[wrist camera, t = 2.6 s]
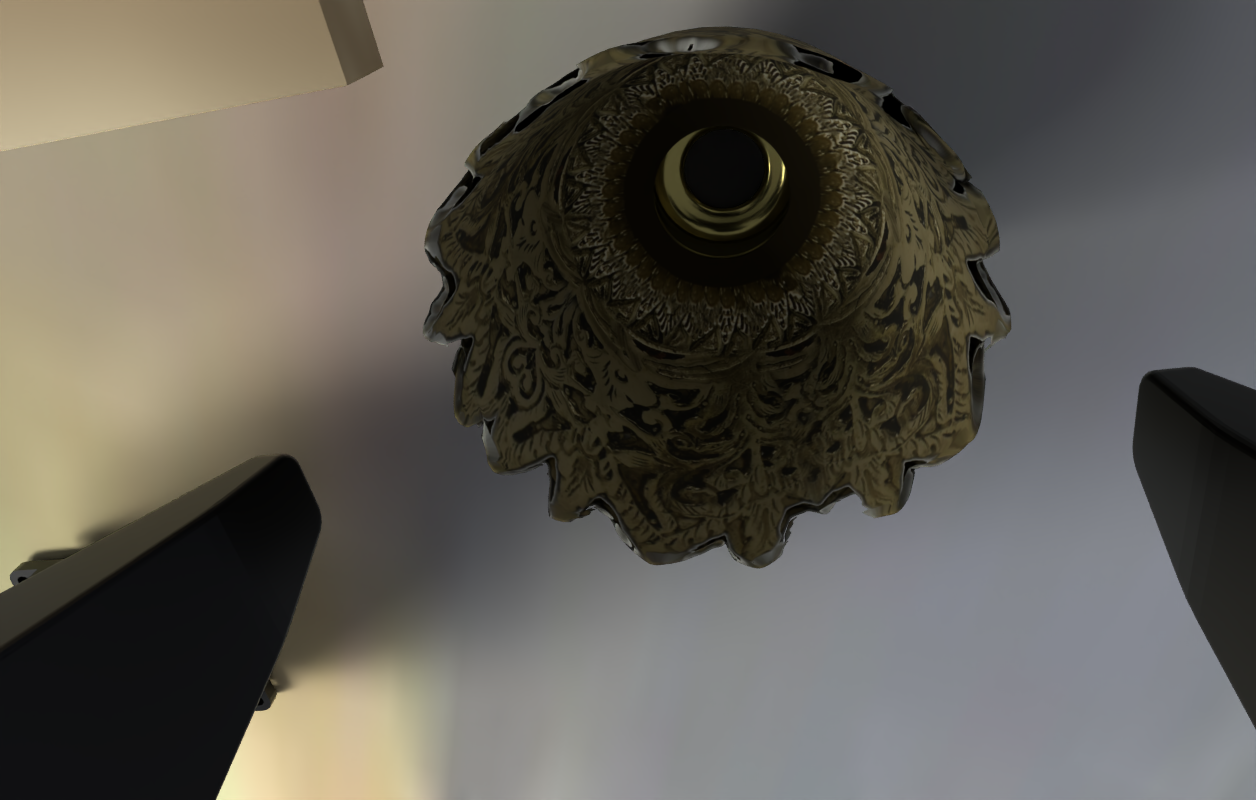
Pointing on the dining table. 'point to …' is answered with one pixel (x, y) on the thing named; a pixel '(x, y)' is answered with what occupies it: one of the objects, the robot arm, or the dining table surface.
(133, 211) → the dining table surface
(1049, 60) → the dining table surface
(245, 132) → the dining table surface
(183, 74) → the trapdoor
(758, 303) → the bronze domed piece
